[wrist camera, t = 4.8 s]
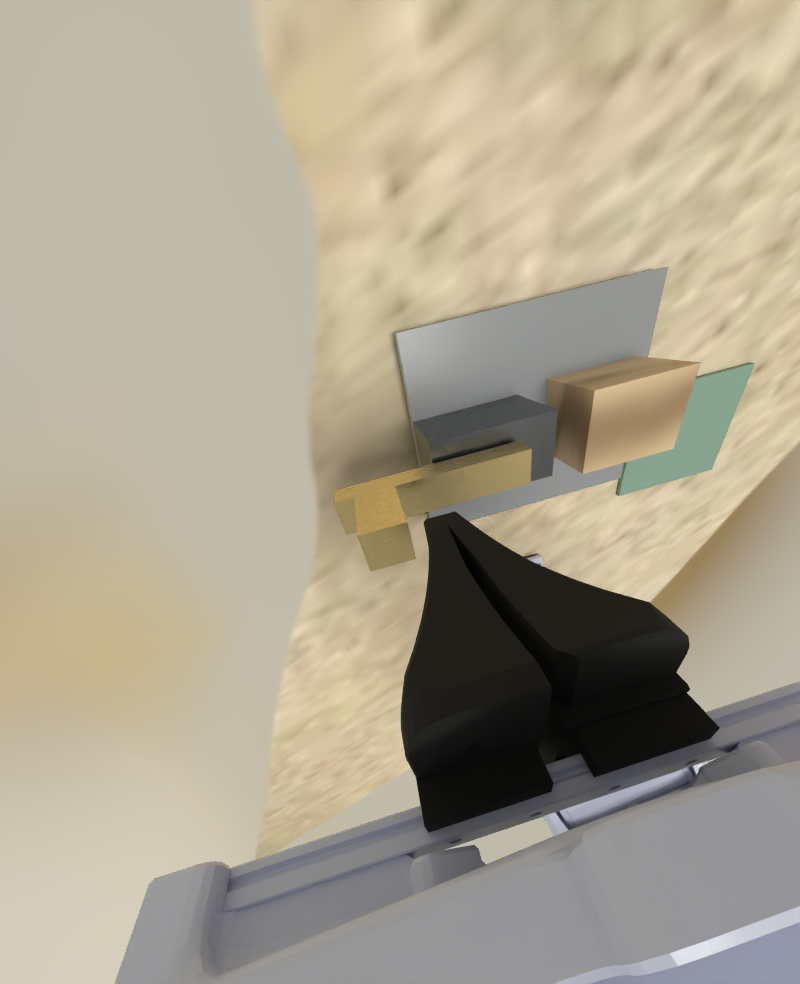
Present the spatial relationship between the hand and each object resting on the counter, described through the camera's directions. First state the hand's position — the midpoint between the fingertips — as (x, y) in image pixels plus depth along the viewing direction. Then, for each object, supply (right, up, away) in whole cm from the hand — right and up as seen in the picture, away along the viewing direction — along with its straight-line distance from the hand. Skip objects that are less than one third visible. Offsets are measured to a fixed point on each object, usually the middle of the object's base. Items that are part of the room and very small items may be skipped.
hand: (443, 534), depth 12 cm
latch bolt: (0, +2, +4) cm, 4 cm away
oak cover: (+11, +8, +8) cm, 16 cm away
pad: (+21, +7, +12) cm, 25 cm away
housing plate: (+7, +7, +9) cm, 13 cm away
